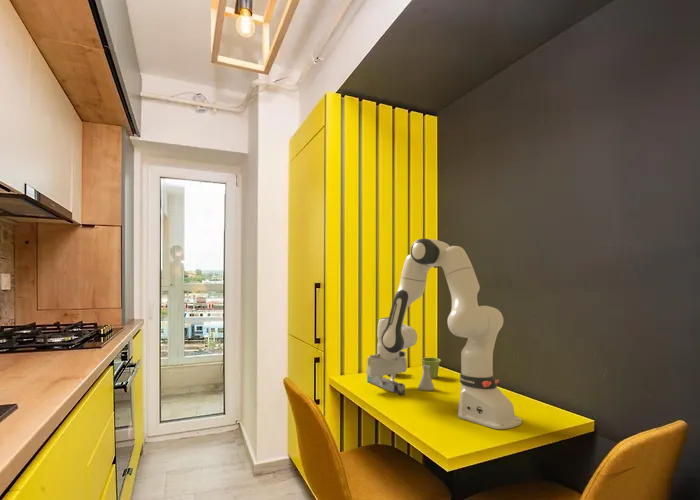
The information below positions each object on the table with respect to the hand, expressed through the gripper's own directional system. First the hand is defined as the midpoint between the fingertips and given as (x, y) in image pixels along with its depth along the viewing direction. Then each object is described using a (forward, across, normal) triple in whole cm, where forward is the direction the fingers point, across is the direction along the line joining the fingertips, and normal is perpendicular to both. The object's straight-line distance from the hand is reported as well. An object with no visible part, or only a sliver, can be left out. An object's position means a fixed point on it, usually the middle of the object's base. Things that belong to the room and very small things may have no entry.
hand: (386, 384), depth 174 cm
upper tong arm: (+2, -1, +3) cm, 3 cm away
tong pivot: (+2, 0, -10) cm, 10 cm away
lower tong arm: (+2, +1, +3) cm, 3 cm away
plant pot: (+2, +31, +5) cm, 31 cm away
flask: (+2, +15, -9) cm, 18 cm away
